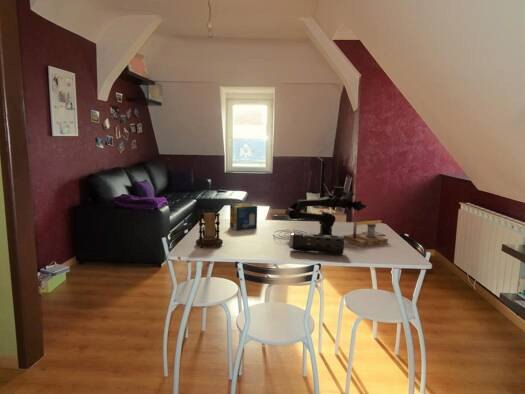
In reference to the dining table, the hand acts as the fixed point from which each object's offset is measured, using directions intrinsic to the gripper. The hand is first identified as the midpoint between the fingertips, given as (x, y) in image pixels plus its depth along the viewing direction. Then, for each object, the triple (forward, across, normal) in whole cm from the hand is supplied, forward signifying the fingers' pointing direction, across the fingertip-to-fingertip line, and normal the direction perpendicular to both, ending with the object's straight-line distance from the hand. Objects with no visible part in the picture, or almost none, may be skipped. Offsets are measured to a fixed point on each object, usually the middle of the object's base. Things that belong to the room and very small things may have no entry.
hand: (362, 205), depth 243 cm
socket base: (-7, -17, +20) cm, 28 cm away
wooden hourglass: (-97, -2, +31) cm, 102 cm away
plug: (-3, -17, +20) cm, 26 cm away
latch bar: (-6, -17, +18) cm, 25 cm away
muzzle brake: (-45, -30, +27) cm, 61 cm away
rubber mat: (+8, -4, +17) cm, 20 cm away
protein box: (-68, +32, +24) cm, 79 cm away
